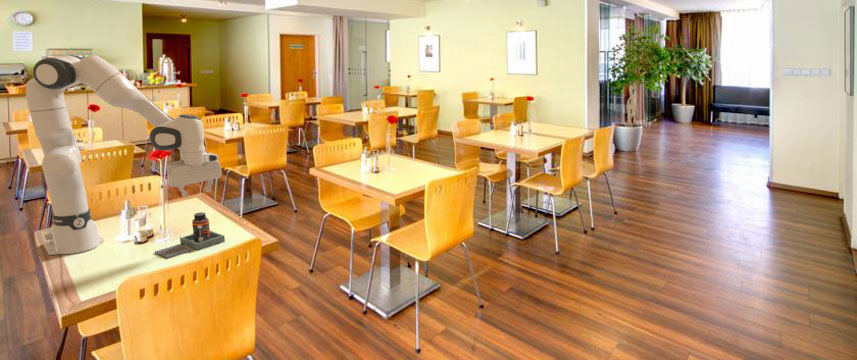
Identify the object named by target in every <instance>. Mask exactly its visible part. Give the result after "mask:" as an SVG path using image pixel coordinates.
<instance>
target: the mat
mask: <svg viewBox="0 0 857 360" xmlns="http://www.w3.org/2000/svg"><path fill="white" fill-rule="evenodd" d="M190 252H192V248H189V247H187V246H184V245H183V246H182V244H175V245H171V246H168V247H165V248H162V249H158V250H155V251H154V254H156V255H158V256H161V257H163V258H165V259H167V260H169V259H171V258H173V257H178V256H180V255H183V254H186V253H187V254H188V253H190Z"/></svg>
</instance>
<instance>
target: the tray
mask: <svg viewBox="0 0 857 360" xmlns="http://www.w3.org/2000/svg"><path fill="white" fill-rule="evenodd" d="M225 239H226V238H225V235H223V234H221V233H218V232H215V231H213V230H210V239H209V240H206V241H203V242H200V243H196V242H194V234H193V233H191V234H189V235H185V236H180V237H179V240H180V245H181V246H182V245H183V246H184V247H186V248H189V249H191V250H192V249H193V250H195V251H200V250H203V249H207V248H209V247H212V246H216V245H219V244H221V243H224V242H225V241H226V240H225Z"/></svg>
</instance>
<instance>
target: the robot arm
mask: <svg viewBox="0 0 857 360" xmlns="http://www.w3.org/2000/svg"><path fill="white" fill-rule="evenodd" d="M32 75H33V78H31V79H29V80H28V81H27V82H26V85H25V96H26V97H25V98H26V103H27V109H28V111H29V115H30V119H31V122H32V126H33V129H34V134H35V136H36V137H37V140H38V142H39V144H40V146H41V150H42V153H43V158H42V160H41V168H42V171H43V172H42V173H43V175H44V180H45V183H46V187H47V190H48V194H49V198H50V203H51V209H52V215H51V216H52V217H51V220H52V225H51V226H50V228H49V229H48V231H47V233H45V234H44V239H45V240H46V241H44V242H42V245H43V248H44V249H45V251H46V253H47V254H48V255H49V256H53V255H54V256H55V255H72V254H79V253H83V252H87V251H89V250H92V249H95V248H97V247H98V246H99V245H100V244H101V243H103V242H105V238H104V237H102V236H100V233H99V229H98V223H97V222H96V221H94V220H93V219H92V212H91V210H90V208H89V204H88V199H87V191H86V188H85V184H84V179H83V176H82V170H81V163H82V155H81V151H80V148H79V145H78V144H79V143H78V141H77V139H76V136H75V133H74V130H73V127H72V122H71V119H70V115H69V111H68V107H67V103H66V101H65V94H64V93H65V91H66V90H67V89H69V90H70V89H73V88H75V87H77V86H80V85H83V84H84V85H85V86H87V87H88V88H89V89H90V90H92V92H94V93H95V94H96V95H97V96H98V98H100V99H101V100H103V101H104V102H106V103H107V104H108V105H110V106H112V107H114V108H119V109H126V110H129V111H134V112H135V113H137V114H139V115H140V116H142V117H143V118H144V119H145V120H146V121H147V122H148V123H150V124H151V125H152V126H154V128H153V129H151V131H150V132H149V142H150V144H151V146H152V147H153V148H155V149H156V150H158V151H162V152H165V151H167V152H168V151H172V150H176V149H177V150H179V156H180V160H175V161H170V162H169V163H168V164H167V165H166V172H167V174H166V175H167V177H166V178H167V179H166V181H167V185H168V186H169V187H171V188H177V189H178V190H179V191H180V192H181V196H182V197H183V198H187V197H188V196H189V191H186V190H185V186H187V185H193V184H197V183H201V182H207V185H206V186H204V191H205V192H206V193H208V192H211V191H212V186H213V183H214V180H217V179H220V178H221V177H222V175H223V173H222V165H221V163H220V160H219V159H220V156H219V155H218V154H215V153H211V152H207V151H206V146H205V131H204V126H203V122H202V120H201V118H199V116H198V115H197V116H196V115H193V114H186V113H185V114H179V115H178V116H177V117H176V118H173V117H171V116H169V114H167V113H165V111H164V110H162V108H160V107H159V106H158V105H156V103H154V102H153V101H152V100H151V99H149V98H148V97H147V96H146V95H144V94H143V92H141V91H140V89H138V88H137V87H136V86H135V85H134V84H133V83H132V82H131V81H130V80H129V79H128V78H127V77H126V76H125V75H124V74H123V73H121V72H120V70H118V69H117V68H116V67H115V66H113V65H112V64H111V63H110V62H108V61H107V60H106V59H104V58H103V57H102V56H99V55H97V54H90V55H86V56H84V57H81V56H77V55H75V54H73V55H72V54H69V55H65V54H64V55H63V54H61V55H55V56H51V57H45V58H42V59H40V60H38V61H37V62H36V63H35V64H34V66H33V68H32Z"/></svg>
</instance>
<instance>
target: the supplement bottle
mask: <svg viewBox="0 0 857 360" xmlns="http://www.w3.org/2000/svg"><path fill="white" fill-rule="evenodd" d="M193 217H194V218H193V219H192V221H191V223H192V234H194V242H196V243H200V242H203V241H206V240H209V239H210V231H211V230H210V229H211V228H210V219H209V218H208V217H207V216H206V212H201V211H200V212H197V213H194V216H193Z"/></svg>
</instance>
